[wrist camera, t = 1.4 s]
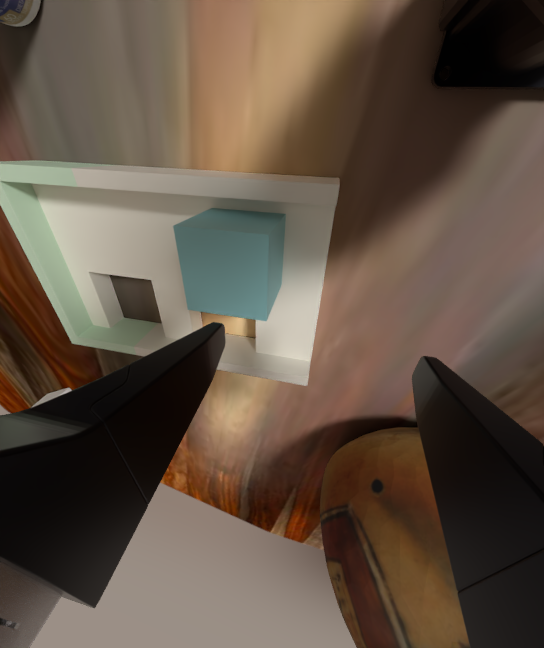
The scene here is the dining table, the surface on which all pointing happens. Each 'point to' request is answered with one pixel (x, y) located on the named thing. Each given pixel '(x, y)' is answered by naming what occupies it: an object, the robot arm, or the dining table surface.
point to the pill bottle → (18, 11)
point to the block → (231, 261)
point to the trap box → (165, 252)
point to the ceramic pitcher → (388, 545)
